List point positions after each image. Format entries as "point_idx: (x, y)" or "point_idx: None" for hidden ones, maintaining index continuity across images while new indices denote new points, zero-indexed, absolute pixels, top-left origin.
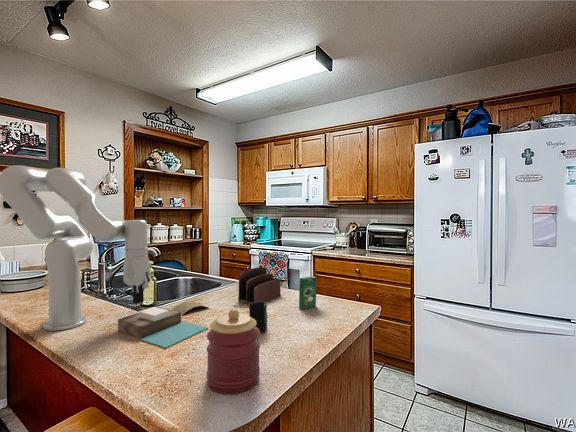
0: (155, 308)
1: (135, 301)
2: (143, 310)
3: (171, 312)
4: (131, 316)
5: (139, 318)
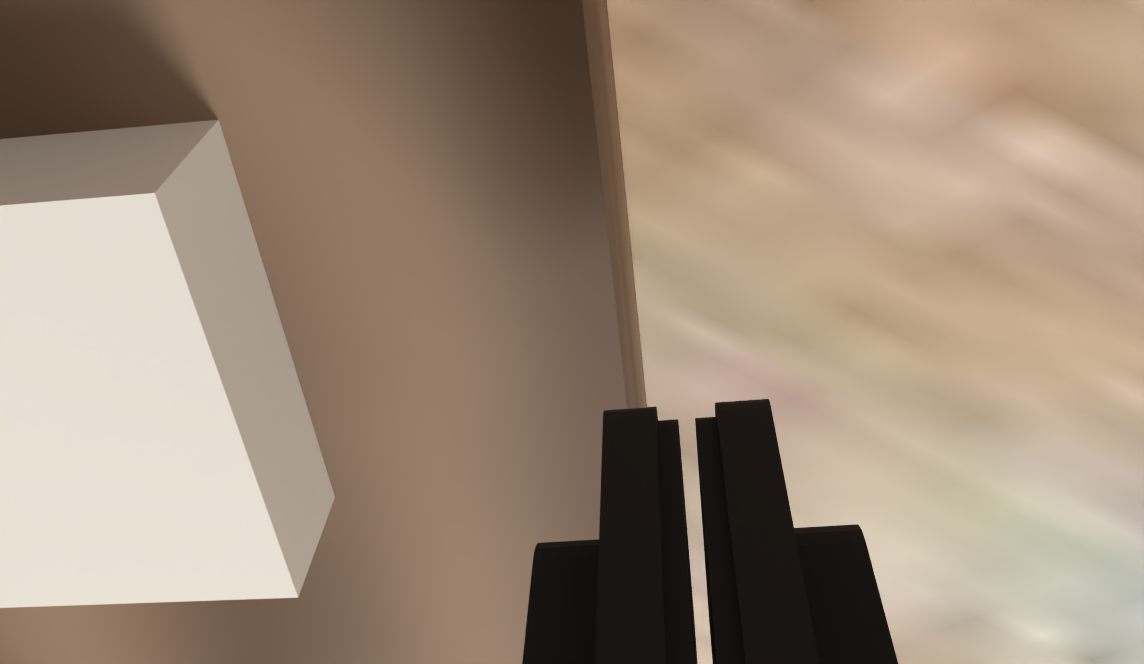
0: (136, 552)
1: (623, 450)
2: (188, 315)
3: (52, 646)
4: (461, 19)
5: (112, 67)
